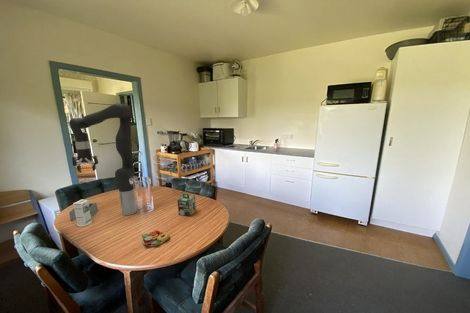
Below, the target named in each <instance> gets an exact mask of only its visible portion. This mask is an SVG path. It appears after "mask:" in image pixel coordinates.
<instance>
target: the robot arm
mask: <svg viewBox="0 0 470 313" xmlns="http://www.w3.org/2000/svg"><path fill="white" fill-rule="evenodd" d="M111 119H119V128H118V130H117V133H116V136H115V149H116V151H117V154H119V156H120V157H121V160H122V161H121V164H122V167H120V168H118V169H117V170H116V171H115V173H114V179H115V182H116V183H115V184H116V187H117V189H118V193H119V201H120V203H119V204H120V209H121V215H122V216H131V215H133V214H136V213H137V211H138V204H137V203H138V202H137V197H136V195H135V186H134V184H133V183H130V179H132V178H133V177H134V176H135V166H134V161H133V160H134V159H133V143H132V127H131V126H132V125H131V124H132V109H131V107H130V106H129V104H127V103H119V102H117V103H113V104H111V105H109V106H108V107H106V108H104V109H101V110H99V111H95V112H93V113H90V114H87V115H85V116H83V117H80V118H79V117H73V118H71V119H70V120H69V122H68V123H69V128H70V129H71V132H72V134H73V136H74V140H75V141H74V142H75V149H76V155H77V156H73V157H71V160H72V161H71V163H72V166H75V167H76V169H77V170H76V171H77V172H78V173H79V172H81V171H82V168H81V167H82V166H81V164H84V163H89V164H90V165H91V168H92V172H93V171H96V169H97V166H96V165H98V164H99V160H98V155H92V151H91V145H90V140H89V136H88V133H87V132H84V131H83V130H82V129H84V130H85V129H88V128H90V127H92V126H96V125H99V124H101V123H103V122H105V121H107V120H111Z"/></svg>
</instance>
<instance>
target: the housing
mask: <svg viewBox="0 0 470 313" xmlns="http://www.w3.org/2000/svg"><path fill="white" fill-rule="evenodd" d="M89 203H90V202H89ZM97 203H98V202H96V201H95V202H91V203H90V209H91V214H92V217H93V216H94V215H95V214H96V213H97V212H98V211H99V209H98V204H97ZM68 213H69V218H70V221H77V220H76V215H75V211H74V208H72V209H71V210H70V211H69V212H68Z"/></svg>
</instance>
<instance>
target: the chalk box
mask: <svg viewBox="0 0 470 313" xmlns="http://www.w3.org/2000/svg"><path fill="white" fill-rule="evenodd" d="M177 210H178V216H184V217H191V216H192V215H193V214H194V213H196V211H197V204H196V196H195V195H189V194H188V193H182V196H180V197H179V198H178V199H177Z"/></svg>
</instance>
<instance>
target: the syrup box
mask: <svg viewBox="0 0 470 313" xmlns="http://www.w3.org/2000/svg"><path fill="white" fill-rule="evenodd" d="M72 204H73V209H74V211H75V215H76V220H75V221H76V225H77V224H82V225H86V224H87V223H88V222H90V221H92V220H93V216H92V214H91V209H90V200H89V199H84V198H83V199H82V198H81V199H80V200H77V201H76V202H73V203H72ZM86 226H87V225H86Z"/></svg>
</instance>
